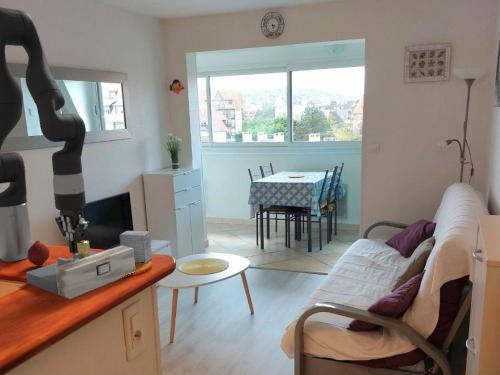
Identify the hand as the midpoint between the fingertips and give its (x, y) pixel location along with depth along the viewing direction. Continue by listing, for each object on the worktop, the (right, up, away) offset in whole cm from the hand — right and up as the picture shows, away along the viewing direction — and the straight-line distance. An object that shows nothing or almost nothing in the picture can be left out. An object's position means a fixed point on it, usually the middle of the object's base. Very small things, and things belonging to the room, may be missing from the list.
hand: (75, 252), depth 115 cm
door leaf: (0, -7, +1) cm, 7 cm away
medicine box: (+14, -4, +12) cm, 19 cm away
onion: (-15, -6, +10) cm, 19 cm away
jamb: (+8, -7, -4) cm, 12 cm away
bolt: (+6, -4, -3) cm, 8 cm away
